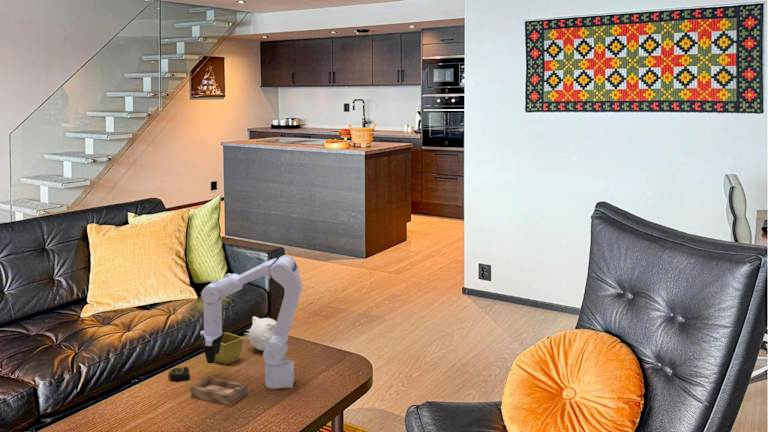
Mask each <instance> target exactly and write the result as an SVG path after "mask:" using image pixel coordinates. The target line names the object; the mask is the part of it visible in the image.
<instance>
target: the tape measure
mask: <svg viewBox="0 0 768 432" xmlns="http://www.w3.org/2000/svg"><path fill="white" fill-rule="evenodd" d="M167 375H168V380H169V381H170V382H175V383H177V382H178V383H179V382H186V381H187V382H188V381H190V380H191V375H190V368H189V367H188V366H183V367H173V368H171V369H170V370H169V371H168V374H167Z"/></svg>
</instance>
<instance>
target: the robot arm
mask: <svg viewBox="0 0 768 432" xmlns="http://www.w3.org/2000/svg"><path fill="white" fill-rule="evenodd" d="M262 277H264V278H267V279H269V280H270V279H271V278H272V279H273V280H274V281H275V282H277V283H278V284H279V285H281V286H282V288H283V289H284V290H285V291H284V294H283V299H282V303H281V306H280V309H279V313H278V316H277V319H276V326H275V329H274V333H273V336H272V338H271V340H270V343H269V346H268V347H267V349H266V350H265V351H263V354H262V358H263V361H264V375H265V377H264V379H265V381H264V384H265V386H266V387H267V388H268V389H272V390H274V389H282V388H283V389H285V388H286V389H288V388H289V389H290V388H293V386H294V383H295V377H294V376H295V375H294V374H295V372H294V370H295V369H294V368H295V367H294V366H295V365H294V361H293V360H289V359H288V358H287V355H286V353H287V352H288V350H289V344H288V339H289V332H290V329H291V328H292V327H291V326H292V323H293V320H294V316H295V313H296V309H297V306H298V302H299V299H300V295H301V293H302V289H303V283H302V279H301V276H300V272H299V265H298V263H297V262H296V261H295V259H294V258H293V257H292V256H290V255H286V254H285V255H281V256H280V257H276V258H271V259H270V260H267V261H265V262H263V263H260V264H259V265H257V266H255V267H253V268H250V269H248V270H246V271H245V272H243V273H240V274H238V273H230V272H229V273H227V274H225V276H224V277H223V278H221V279H219V280H217V279H215V280H213V282H210V283H209V284H207V285H206V286H205V287H204V288H203V289H202V291H200V296H201V299H202V301H203V330H201V331H199V332H200V334H199V335H200V336H202V335H203V337H204V340H205V341H201V343H200V347H201V349H202V350H203V352H204V356H205V359H206V362H207V364H215V361H216V360H215V356H216V354H218V353H219V350H220V344H221V340H222V337H223V335H224V333H225V331H223V330H222V329H223V324H222V323H223V320H222V319H223V317H222V316H223V315H222V313H223V312H222V311H223V310H222V308H223V307H222V298H225V297H227V296H230V295H232V294H235V293H236V292H238V291H241V290H242V288H243V287H244V285H245V284H247V283H250V282H251V281H254V280H257V279H259V278H262Z"/></svg>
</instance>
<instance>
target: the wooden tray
mask: <svg viewBox="0 0 768 432" xmlns="http://www.w3.org/2000/svg"><path fill="white" fill-rule="evenodd" d="M248 393H249V392H248V384H247V383H242V382H237V381H232V380H226V379H222V378H218V377H213V376H209V375H207V376H206V377H205V378H204V379H202V380H201V381H199V382H197V383H195V384H194V385H193V386H191V387H190V397H191V398H194V399H198V400H202V401H207V402H211V403H217V404H222V405H226V406H229V407H232V406H233V405H235V403H237V402H238V401H240V400H241V399H243V398H244V397H246V396H247V395H248Z"/></svg>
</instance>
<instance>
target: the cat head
mask: <svg viewBox="0 0 768 432" xmlns="http://www.w3.org/2000/svg"><path fill="white" fill-rule="evenodd" d="M251 319H252V320H251V321H252V325H251V327H250V328H249V329H246V330H245V331H247V332H243V334H245V335H248V336H247V337H243V340H244V339H248V340H249V342H250V343H251V345H252V346H253V347H254V348H255V349H257V350H259V351H262V352H264V351H265V350H266V349H267V347H268V346H269V343H270V340H271V338H272V336H273V333H274V329H275V326H276V322H277V320H275V319H273V318H270V317H263V318H260V317H257V316H252V318H251Z"/></svg>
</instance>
